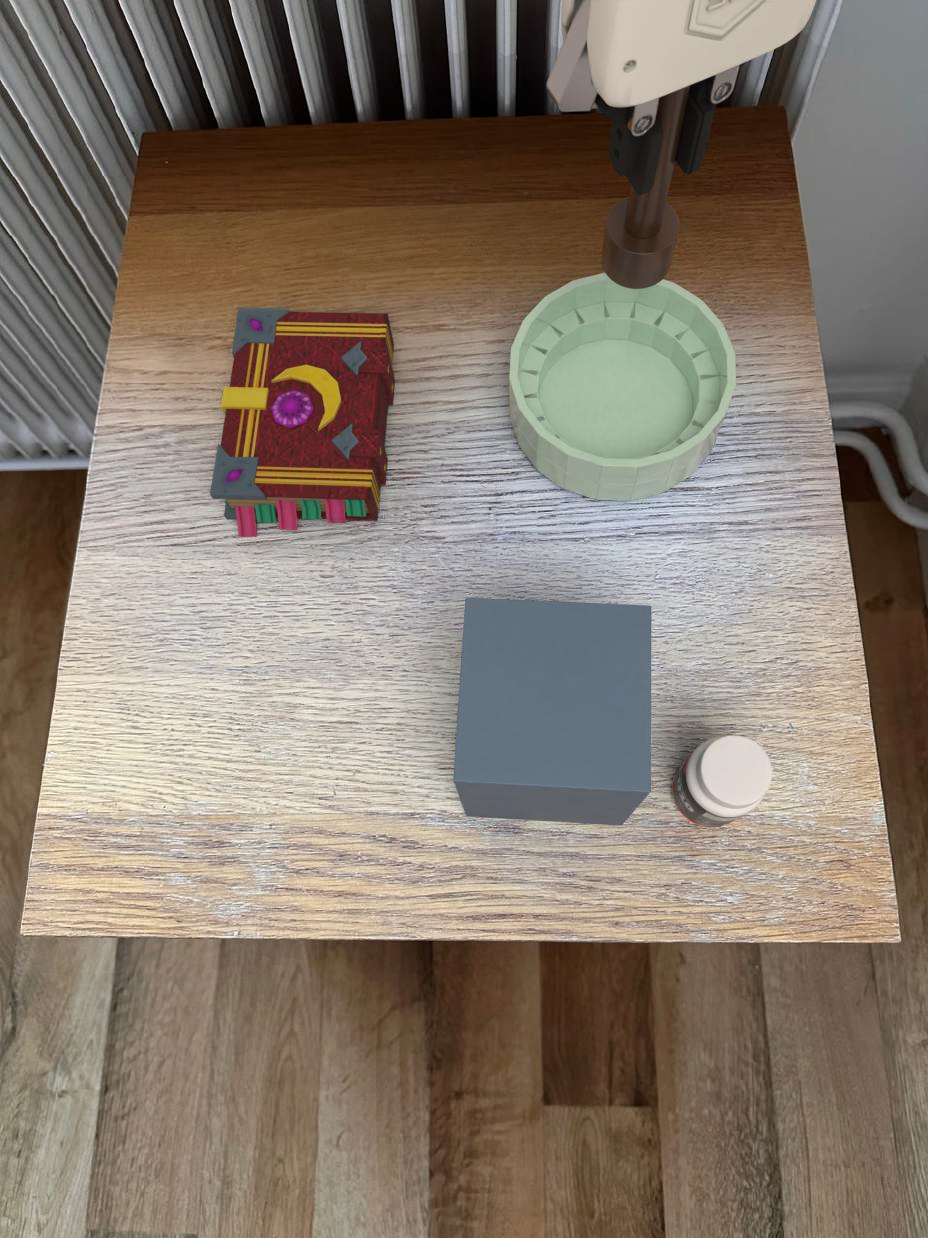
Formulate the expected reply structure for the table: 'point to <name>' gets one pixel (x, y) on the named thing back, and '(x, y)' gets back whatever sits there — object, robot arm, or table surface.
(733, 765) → the pill bottle
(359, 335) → the decorative book
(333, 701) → the table surface
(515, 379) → the bowl
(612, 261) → the brown wooden handle
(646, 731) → the stand
